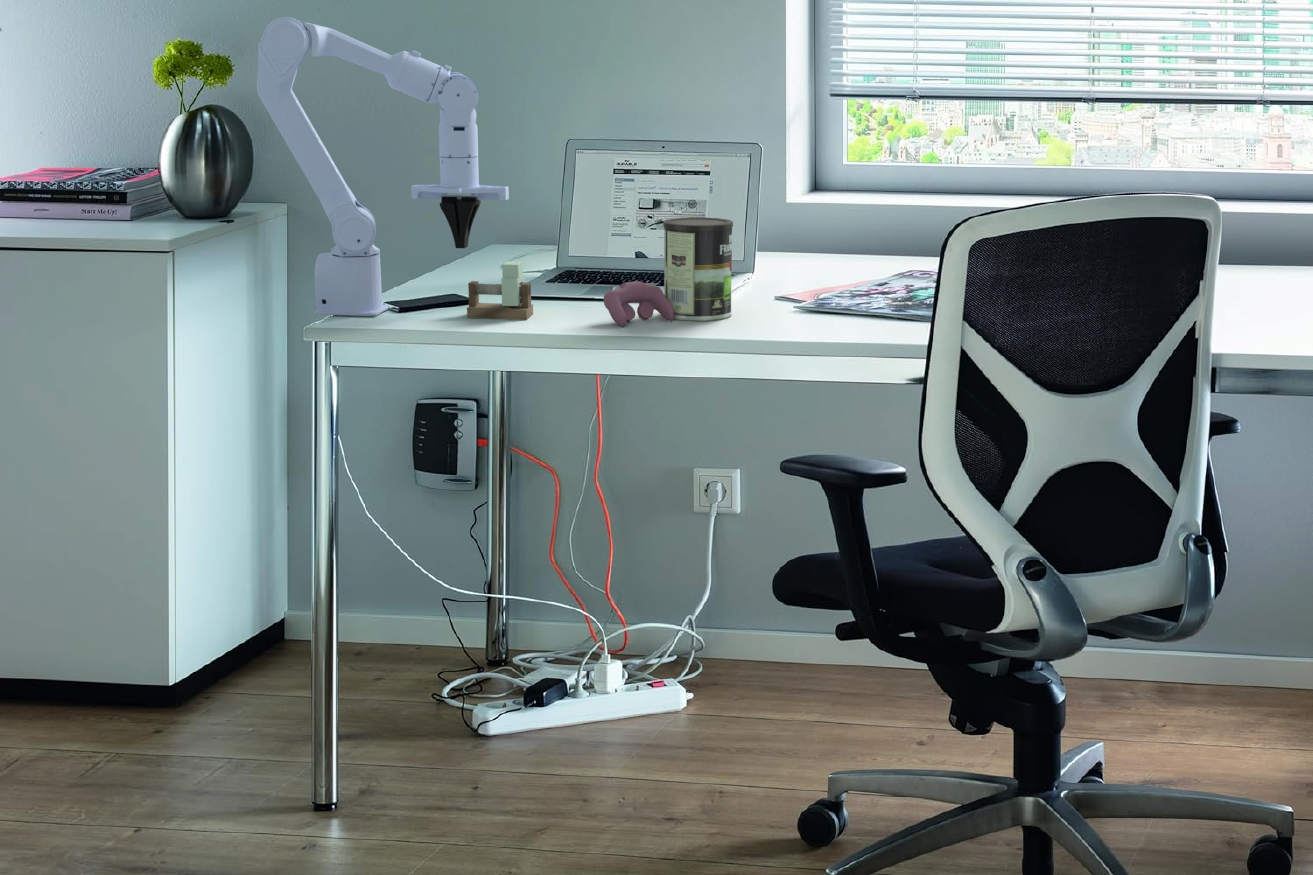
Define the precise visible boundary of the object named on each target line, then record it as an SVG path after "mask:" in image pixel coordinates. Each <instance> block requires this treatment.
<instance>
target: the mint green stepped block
mask: <svg viewBox="0 0 1313 875" xmlns="http://www.w3.org/2000/svg"><path fill="white" fill-rule="evenodd" d="M501 265H502V266H501V267H502V269H501V271H502V272H501V273H502V278H501V279H500V280H501V284H502V295H501V304H502V306H519V305H520V304H521V296H519V285H521V284H523V283H524V282H525V273H524V262H523V261H505V262H504V263H502V264H501Z"/></svg>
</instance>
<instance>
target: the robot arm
mask: <svg viewBox="0 0 1313 875" xmlns="http://www.w3.org/2000/svg"><path fill="white" fill-rule="evenodd" d="M257 49H258V50H257V52H258V54H257V58H258V59H257V71H256V72H257V73H256V92H257V95H258V97H259V99H260V101H261V102H262V104H263V106H264V107H265V109H266V112H268V114H269V116H270V118H271V119H272V121H273V123H274V124H275V126H276V128H277V130H278V132H279V133H280V134H281V136H282V139H284V140H283V141H284V142H285V144H286V145H287V147H288V149H289V150H290V152H291V153H292V155H293V157H294V159H295V161H296V162H297V164H298V166H299V168H300V169H301V171H302V173H303V174H304V176H305V177H306V180H307V181H308V183H309V185H310V186H311V188H312V189H313V191H314V194H315V195H316V197H317V198H318V200H319V202H320V204H321V206H322V208H323V210H324V213H325V215H326V217H327V219H328V220H329V222H330V225H331V232H332V238H333V243H334V244H335V246H334V247H331V249H330V252H321V253H319V254H318V255H317V258H316V260H315V265H314V285H315V286H314V287H315V291H314V292H315V305H316V306H315V307H316V310H315V311H314V314H315V315H323V316H324V315H325V316H327V315H328V316H331V315H332V316H355V317H357V316H359V317H364V316H365V317H376V316H378V315H380V314H381V313H383V312H385V311H387V310H388V305H387V304H388V303H383V295H382V294H383V293H382V292H383V290H382V273H381V272H382V269H381V267H382V266H381V249H380V248H379V247H377V246H375V244H374V243H375V240H376V236H377V223H376V219H375V217H374V215H373V214H372V212H371V211H370V210H369V209H368V208H366V207H365V206H363V205H362V204H361V203H360V202H359V201H358V200H357V198H356V197H355V195H354V193H353V192H352V190H351V189H350V187H349V186H348V184H347V182H346V181H345V179H344V177H343V176H342V174H341V172H340V170H339V169H338V167H337V166H336V164H335V162H334V160H333V159H332V156H331V155H330V153H329V151H328V149H327V148H326V146H325V145H324V142H323V141H322V140H321V137H320V136H319V135H318V133H317V130H316V129H315V128H314V125H313V124H312V122H311V121H310V118H309V117H308V115H307V114H306V111H305V110H304V108H303V107H302V105H301V103H300V101H299V99H298V98H297V96H296V94H295V92H294V91H293V85H294V83H295V79H296V77H297V73H298V69H299V66H300V65H301V63H302V62H303V60H305V57H306V56H307V55H308V53H309V52H310V50H311V57H312V58H315V57H316V58H317V57H327V56H332V57H333V56H334V57H336V58H339V59H342V60H344V61H347V62H350V63H352V64H354V65H358V66H359V67H363V68H365V69H368V70H370V71H372V72H376V73H378V74H381V75H383V76H384V77H385V79H386V81H387V83H388V86H389V87H390V88H391V89H392V90H395V91H398V92H400V93H403V94H405V95H407V96H409V97H412V98H415V99H417V100H420V101H422V102H424V103H427V104H429V105H431V104H434V103H438V105H439V106H440V108H439V116H440V117H439V119H440V120H439V122H440V123H439V125H438V144H439V145H438V146H439V148H438V149H439V171H440V172H439V173H440V175H439V176H440V184H414V185H411V186H410V188H411V199H412V200H419V199H429V200H430V199H434V200H435V199H436V200H441V202H439V207H440V209H441V211H442V213H443V215H444V216H445V218H446V220H447V221H446V222H447V223H448V225H449V229H450V231H451V235H452V237H453V242H454V246H455V249H467V248H468V247H469V240H470V239H469V238H470V235H471V229H472V227H473V223H474V220H475V217H476V214H477V212H478V211H479V209H480V206H481V202H482V201H484V200H485V201H486V200H487V201H490V200H491V201H493V200H494V201H505V202H506V201H509V199H510V195H509V194H510V191H509V189H510V187H509V186H507V185H506V186H505V185H504V186H502V185H485V184H484V185H483V184H480V176H479V174H480V173H479V169H480V168H479V139H478V138H479V137H478V135H479V132H478V130H479V129H478V125H477V123H476V122H477V118H478V117H477V111H476V107H477V105H478V102H479V98H480V96H479V95H480V94H478V90H477V87H476V84H475V83H474V82H473V81H472V80H471V79H470V78H469V77H468V76H465V75H464V74H462V72H457V71H456V72H455V71H454V72H451V70H452V67H451V66H449V65H447V64H445V65H444V66H442V65H439V64H437V63H434V62H432V61H430V60H427V59H425V58H423V57H421V55H422V54H421V52H418V51H416V50H414V49H413V50H412V51H411V52H408V51H406V50H402V51H400V52H397V53H395V54H393V55H391V54H389V53H387V52H386V51H385V52H384V51H382V50H381V49H379V48H376V47H373V46H371V45H369V44H367V43H365V42H362V41H360V40H358V39H355V38H353V37H352V36H349V35H347V34H345V33H342V32H341V31H339V30H336V29H334V28H332V27H327V26H324V25H319V24H315V23H310V22H303V21H301V20H299V19H297V18H293V17H289V16H287V17H285V16H282V17H278V18H276V19H273V20H272V21H271V22H269V23H268V25H267V26H266V27H265V29H264V31H263V34H262V36H261V39H260V41H259V43H258V46H257ZM450 194H451V195H450ZM460 194H461V195H460ZM465 194H466V195H465ZM467 194H470V195H467ZM481 200H482V201H481Z"/></svg>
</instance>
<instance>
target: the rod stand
mask: <svg viewBox="0 0 1313 875" xmlns="http://www.w3.org/2000/svg"><path fill="white" fill-rule="evenodd" d="M467 285H468V307H466V318H467V319H487V320H489V319H491V320H492V319H493V320H521V321H522V320H523V321H524V320H526V321H527V320H528V319H529V318H530V317H532V316H533V315H534V304H533V303H532V283H531V282H527V281H526V282H525V281H524V283H523V284H521V285H519V296H521V304H520V305H519V306H502V303H497V302H495V303H494V302H492V303H491V302H480V295H485V296H486V295H490V296H502V283H479V280H471V281H470V282H468V284H467Z"/></svg>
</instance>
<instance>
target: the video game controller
mask: <svg viewBox="0 0 1313 875" xmlns="http://www.w3.org/2000/svg"><path fill="white" fill-rule="evenodd" d="M602 299H603V304H604V307H605V309H607V311H608V314H609V315H610V317H611V319H612V321H614V323H615V324H616V325H617V326H618V327H620V328H624V327H626V325H627V323H629V322H631V321H632V320H634V319H635V318H636V315H637V316H638V318H639V319H640V320H642V321H648V320H649V319H651V318H652V317H653V315H654V311H657V312H658V313H659V314H660V316H661V317H662V318H663V319H665V320H666V321H667V322H672V321H673V320H675V319H674V310H673V307H672V306H671V304H670V303H669V301H668V300H667V298H666V296H665V295H664V291H663V290H662V289H661V288H660V287H659V286H657V284H656V283H655V282H650V283H649V282H643V281H642V280H641V281H629V282H628V281H627V282H623V283H621V284H619V285H616V286H614V287H612V288H610V289H609V290H607V292H605V294H604V296H603V298H602ZM631 303H638V306H637V309H636V311H635V309H634V307H633V306H632V305H630V304H631ZM636 313H637V314H636Z"/></svg>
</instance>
